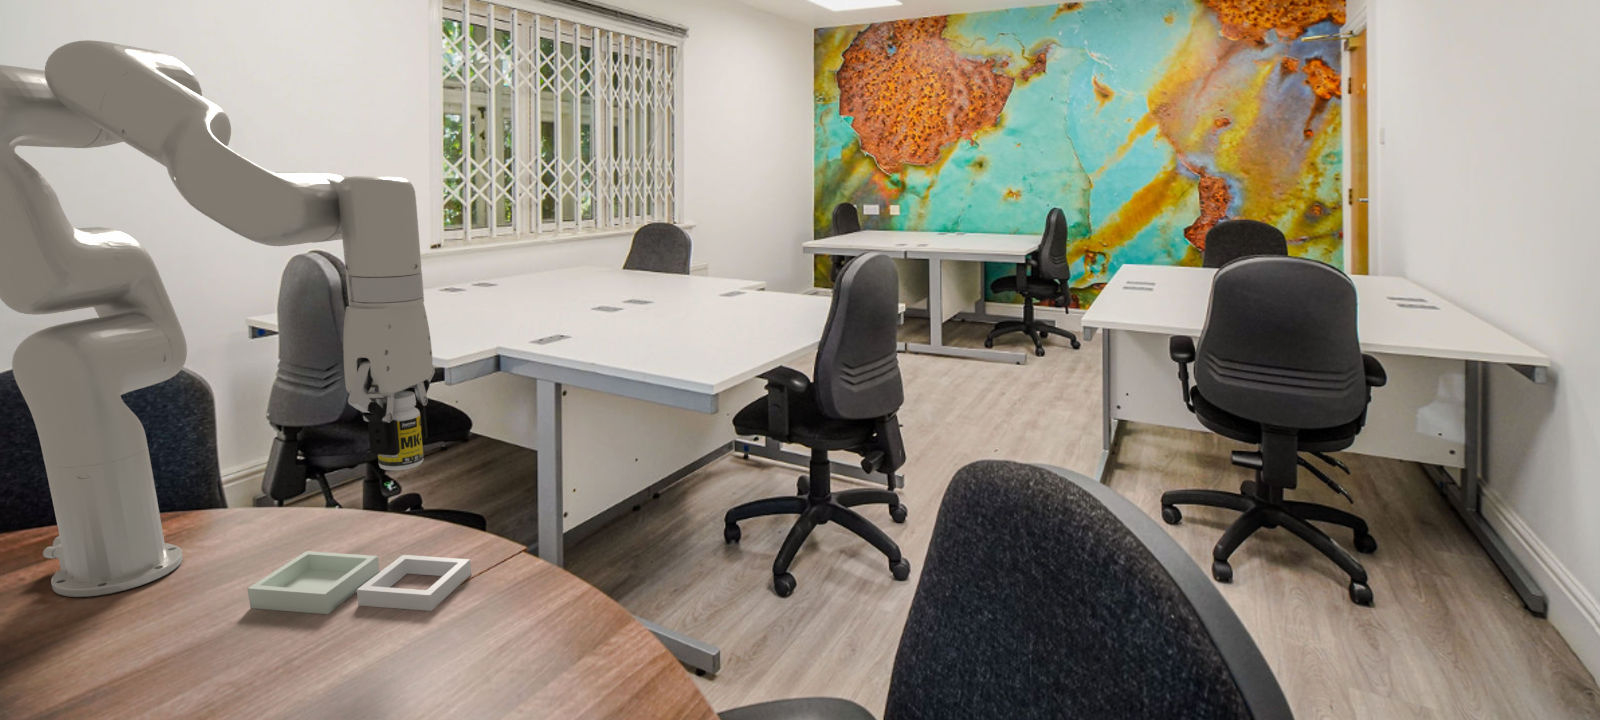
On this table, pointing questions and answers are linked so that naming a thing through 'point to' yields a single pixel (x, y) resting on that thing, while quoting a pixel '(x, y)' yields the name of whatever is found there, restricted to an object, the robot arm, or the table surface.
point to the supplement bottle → (405, 434)
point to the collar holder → (384, 596)
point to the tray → (313, 582)
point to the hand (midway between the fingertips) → (400, 444)
